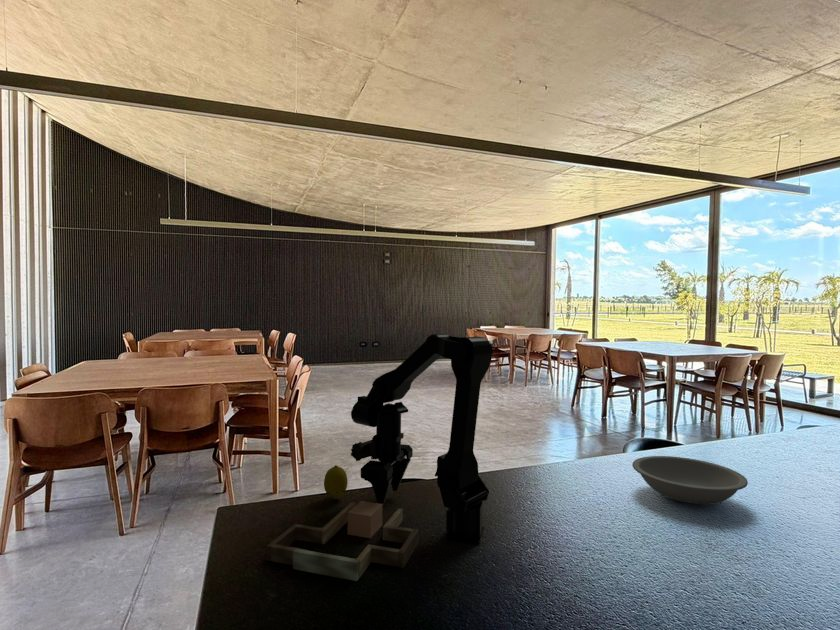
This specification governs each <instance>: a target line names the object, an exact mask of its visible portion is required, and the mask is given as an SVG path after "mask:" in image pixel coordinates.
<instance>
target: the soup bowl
mask: <svg viewBox="0 0 840 630" xmlns="http://www.w3.org/2000/svg"><path fill="white" fill-rule="evenodd" d="M632 468H633V470H635V472H637V473H638V474H640V475H641V477H642V479H643V480H644V481H645V482H646V484H647V485H648V486H649V487H650V488H651V489H653V490H654V491H655V492H657V493H658V494H660V495H662V496H664V497H666V498H669V499H672V500H674V501H679V502H683V503H688V504H694V505H713V504H718V503H722V502H725V501H726V500H729V499H730V498H733V496H734V495H735V494H736V493H737V492H738V491H739V490H742V489H744V488H746V487H747V486H748V484H749V482H748V479H747V477H745V476H744V475H743V474H741V473H740V472H738V471H736V470H734V469H731V468H728V467H726V466H723V465H720V464H717V463H714V462H709V461H706V460H700V459H694V458H689V457H688V458H687V457H684V456H683V457H681V456H674V455H673V456H670V455H652V456H643V457H638V458H636V459H635V460H633V461H632Z"/></svg>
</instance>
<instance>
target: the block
mask: <svg viewBox="0 0 840 630" xmlns="http://www.w3.org/2000/svg"><path fill="white" fill-rule="evenodd" d="M381 527H383V506H382V504H379V503H377V502H371V501H362V500H359V502H358V503H356V506H354V507H353V508H352V509H351V510H350V511H349V512H348V522H347V536H348V535H349V536H355V537H361V538H365V539H366V538H367V539H372V537H373V536H374V535H375V534H376V533H377V532H378V531H379V530H380V528H381Z"/></svg>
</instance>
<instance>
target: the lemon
mask: <svg viewBox="0 0 840 630" xmlns="http://www.w3.org/2000/svg"><path fill="white" fill-rule="evenodd" d="M347 487H348V476H347V471H345V469H344V468H343V467H341V466H338V465H334V466H332V467H331V468H329V469H328V470H327V471H326V473H325V475H324V480H323V488H324V491H325V493H326V494H327V493H331V494H327V495H328V496H329V497H330V498H333V499H334V500H338V498H339V497H341V496H343V495H344V494H345V492H346V491H347ZM343 491H345V492H343ZM333 492H338V493H333Z"/></svg>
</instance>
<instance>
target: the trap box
mask: <svg viewBox="0 0 840 630" xmlns="http://www.w3.org/2000/svg"><path fill="white" fill-rule="evenodd" d="M356 505H357V503H356V502H353V501H351V502H350V503H349V504H348V505H346V506H345V507H344V508H343V509H342V510H341V511H340V512H339V513H338V514H336V515H335V516H334V517H333V518H332V519H330V521H328V522H327V523H326V524H325V525H324V526H323V527H316V526H311V525H304V524H300V523H299V524H298V523H294V524H293V525H291V527H289V528H288V529H287V530H285V531H283V532H282V533H281V534H280V535H279V536H277V537H276V538H275V539H274V540H272V541H271V542H270V543H269V544H267V545H266V561H268V562H274V563H279V564H285V565H290V566H292V569H293V570H296V571H297V570H298V571H302V572H307V573H313V574H317V575H323V576H327V577H328V576H329V577H333V578H338V579H345V580H350V581H354V582H358V580H359V579H360V578H361V577H362V575H363V574H364V573H365V571H366V570H367V568H369V566H370V565H371V563H375V564H380V565H385V566H389V567H390V566H391V567H396V568H402V569H404V568H405V566H406V564H407V563H408V561H409V560H410V558H411V557H412V555H413V553H414V551H415V550H416V548H417V547H418V545H419V543H420V542H419V538H420V535H419V533H420V529H416V528H409V527H401V526H400V525H401V524H402V522H404V520H403V518H404V515H403V514H404V509H403V508H399V507H398V508H397V509H396V511H395V512H394V513H393V514H392V515H391V517H390V518H389V519H388V520H387V521H386V523H385V524H384V525H382V541H387V542H393V543H399V544H402V546H401V548H400V549H398V548H394V547H393V548H392V547H387V546H382V545H381V546H380V545H374V544H369V543H368V544H367V545H366V547H365V548H364V549H363V550H362V552H361V553H360V554H359V555H358V556H357V557H356V558H353V557H352V558H351V557H347V556H343V555H342V556H341V555H335V554H331V553H326V552H325V553H324V552H317V551H312V550H309V549H308V550H307V549H303V548H298V547H292V546H291V545H292V544H293V543H294V542H295V541H300V542H301V541H302V542H308V543H314V544H318V545H319V544H320V545H325V544H326V543H327V542H329V540H330V539H331V538H332V537H333V536H335V535H336V533H338V532H339V531H340V530H341V529H342V527H344V526H345V525H346V524H348V512H349V511H350V510H351V509H352V508H353V507H354V506H356Z"/></svg>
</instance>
